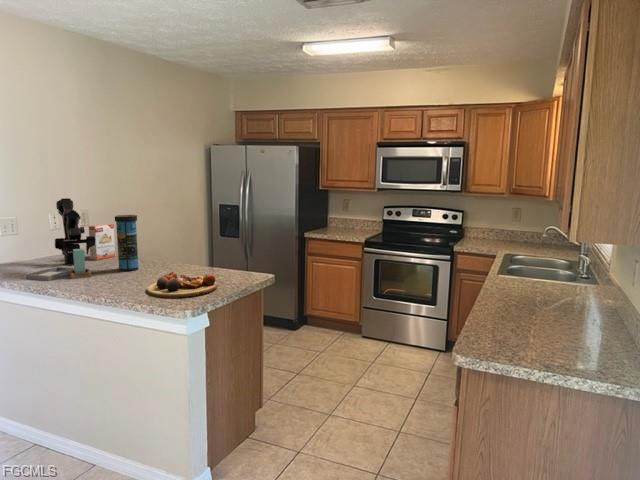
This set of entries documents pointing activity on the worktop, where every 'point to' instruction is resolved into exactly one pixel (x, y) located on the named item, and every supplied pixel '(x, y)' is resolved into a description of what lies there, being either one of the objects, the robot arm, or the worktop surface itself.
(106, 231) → the cracker box
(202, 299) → the worktop surface
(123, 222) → the advertising column
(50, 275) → the board
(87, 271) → the cubby
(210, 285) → the wooden plate with food
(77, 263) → the post
